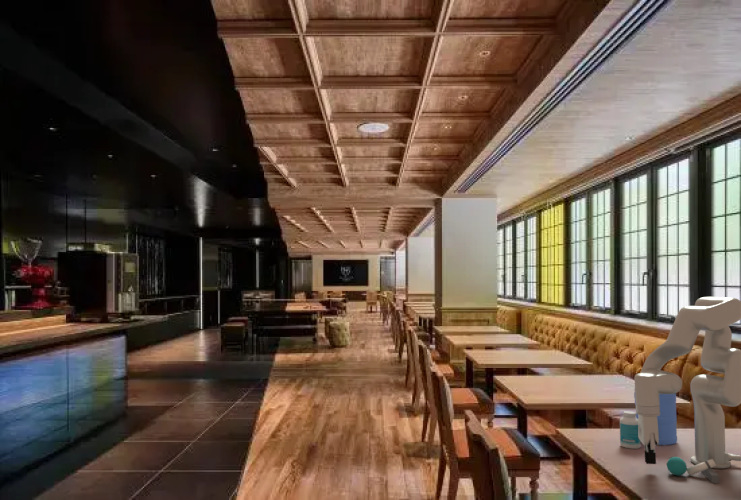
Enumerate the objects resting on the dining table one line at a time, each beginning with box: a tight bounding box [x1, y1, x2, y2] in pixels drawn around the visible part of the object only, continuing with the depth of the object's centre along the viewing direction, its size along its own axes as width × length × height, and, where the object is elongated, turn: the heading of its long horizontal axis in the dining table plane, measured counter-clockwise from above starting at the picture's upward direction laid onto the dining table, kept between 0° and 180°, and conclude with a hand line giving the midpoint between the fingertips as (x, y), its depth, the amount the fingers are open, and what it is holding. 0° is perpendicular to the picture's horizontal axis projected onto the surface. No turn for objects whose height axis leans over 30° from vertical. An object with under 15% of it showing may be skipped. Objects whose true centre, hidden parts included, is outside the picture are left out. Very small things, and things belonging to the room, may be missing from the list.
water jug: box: [633, 391, 678, 446], centre depth 243 cm, size 16×16×28 cm
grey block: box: [700, 468, 720, 484], centre depth 198 cm, size 2×12×2 cm, turn 166°
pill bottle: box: [619, 410, 641, 450], centre depth 233 cm, size 8×7×14 cm
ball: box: [666, 456, 688, 476], centre depth 200 cm, size 6×6×6 cm
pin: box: [686, 459, 716, 477], centre depth 198 cm, size 2×2×9 cm
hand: (650, 463), depth 202 cm, fingers closed
